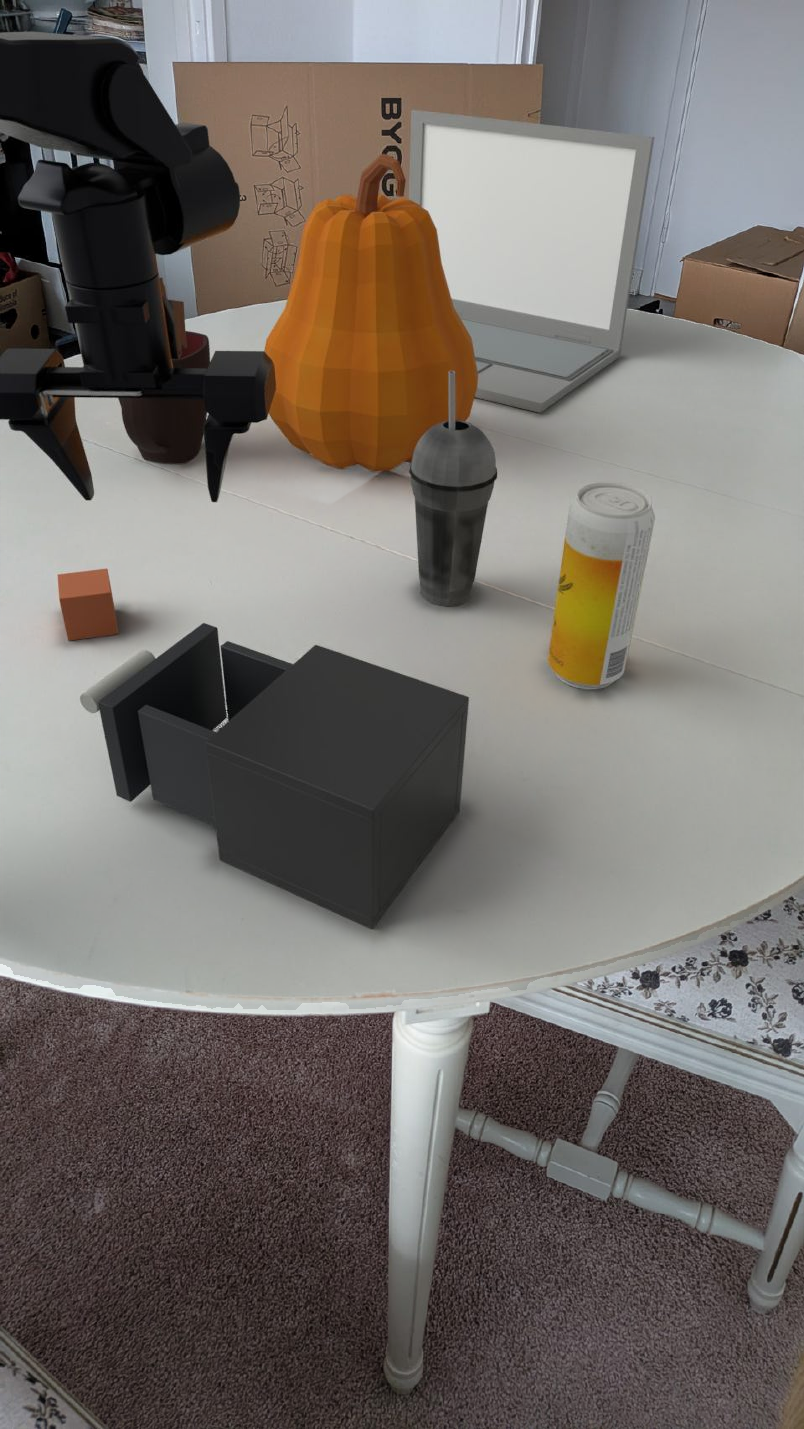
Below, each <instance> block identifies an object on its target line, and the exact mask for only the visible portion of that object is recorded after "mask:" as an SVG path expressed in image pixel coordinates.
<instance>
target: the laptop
mask: <svg viewBox="0 0 804 1429" xmlns="http://www.w3.org/2000/svg"><path fill="white" fill-rule="evenodd" d="M410 112H411V113H410V147H409V180H408V182H409V183H408V199H410V200H411V201H413V202H415V203H417V204H419V205H420V207H422V208H424V209H425V210H427V211H428V212H429V214H430V216H431V218H432V221H433V223H434V225H435V227H436V229H437V235H438V242H439V248H440V255H441V262H442V267H443V270H444V274H445V277H446V281H447V284H448V288H449V292H450V295H451V299H452V302H453V306H454V309H455V310H456V312H457V314H458V315H459V317H460V319H461V321H462V322H463V324H464V326H465V328H466V329H467V331H468V333H469V334H470V336H471V338H472V343H473V349H474V355H475V360H476V366H477V372H478V386H477V390H476V394H475V397H474V398H477V399H479V400H480V399H481V400H485V401H489V402H493V403H498V404H501V405H504V406H505V405H506V406H509V407H513V408H518V409H522V410H527V411H530V412H535V413H538V414H541V413H543V412H544V411H545V410H547V409H548V408H549V407H551V406H552V405H554V404H555V403H557V402H558V401H559V400H561V399H562V398H563V397H565V396H566V395H568V394H569V393H570V392H572V391H573V390H575V389H577V388H578V387H579V386H580V385H582V384H584V383H585V382H586V381H587V380H589V379H590V378H592V377H593V376H595V375H596V374H597V373H599V372H600V371H602V370H603V369H604V368H606V367H608V366H609V365H611V364H612V363H613V362H614V361H616V360H617V359H619V358H620V356H621V353H622V344H623V338H624V331H625V325H626V319H627V313H628V312H627V311H628V306H629V300H630V294H631V288H632V281H633V277H634V276H633V275H634V270H635V269H634V268H635V264H636V263H635V262H636V257H637V250H638V244H639V236H640V231H641V224H642V218H643V212H644V205H645V199H646V193H647V188H648V182H649V175H650V168H651V162H652V154H653V149H654V144H655V143H654V142H655V136H649V135H641V134H640V135H638V134H631V133H622V132H614V131H613V132H612V131H604V130H596V129H587V128H578V127H569V126H561V125H551V124H544V123H543V124H542V123H534V122H525V121H517V120H516V121H515V120H508V119H498V118H491V117H481V116H474V115H473V116H472V115H464V114H455V113H448V112H447V113H445V112H437V111H429V110H419V109H412V110H411V111H410Z"/></svg>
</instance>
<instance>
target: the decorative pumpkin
mask: <svg viewBox="0 0 804 1429" xmlns="http://www.w3.org/2000/svg"><path fill="white" fill-rule="evenodd" d="M389 170H390V171H392V174H393V176H394V179H395V182H396V197H397V199H394V200H392V201H391V199H389V198H388V197H387V196H386V195H384V194H380V193H379V192H380V183H381V181H382V180H383V178H384V177H385V175H386V174H387V172H388V171H389ZM406 181H407V180H406V177H405V174H404V171H403V168H402V166H401V163H400V161H399V160H397V159H396V158H394V157H393V156H390V155H389V154H385V153H382V154H380V155H379V156H378V157H376V159H374V160H373V162H371V163H370V164H369V165H368V166H367V167H366V168H365V169H364V170H363V171H361V175H360V180H359V185H358V191H357V195H356V197H355V196H354V195H352V194H343V195H342V194H341V195H340V196H338V197H336V198H335V199H330V198H327V199H325V200H323V201H321V202H319V203H316V205H315V206H314V209H312V211H311V212H310V214H309V216H308V218H307V221H306V223H305V225H304V226H303V229H302V234H301V239H300V240H301V241H300V248H299V254H298V261H297V264H296V269H295V272H294V275H293V279H292V281H291V286H290V289H289V293H288V297H287V300H286V303H285V307H284V309H283V311H282V312H281V314H280V315H279V317H278V318H277V321H276V322H275V324H274V326H273V328H272V329H271V331H270V332H269V334H268V335H267V337H266V340H265V345H264V350H263V351H264V352H265V353H266V354H267V355H268V356H269V357H270V358H271V360H272V361H273V363H274V367H275V379H276V391H275V394H274V397H273V401H272V404H271V407H270V410H269V413H268V415H269V416H270V419H271V421H273V423H274V424H275V425H276V426H277V428H278V429H279V431H280V432H281V433H282V434H283V436H284V437H285V439H287V441H288V442H289V444H290V445H292V446H293V447H295V448H296V449H298V450H300V451H302V452H304V453H305V454H308V455H311V456H312V457H313V458H314V459H315V460H317V461H319V462H320V463H322V464H324V465H326V466H329V467H331V468H335V469H339V470H342V469H346V468H349V467H354V466H357V465H358V466H360V467H363V468H364V469H367V470H369V471H371V472H373V473H380V472H391V471H392V470H394V469H396V468H397V467H398V466H401V464H403V463H404V462H406V463H411V462H412V458H413V454H414V450H415V447H416V445H417V443H418V441H419V440H420V438H421V437H422V436H423V435H424V434H425V433H426V432H427V431H428V430H429V429H430V428H431V427H433V426H434V425H436V424H439V423H441V422H444V421H449V371H454V372H455V420H461V421H465V422H467V420H468V419H469V417H471V412H472V409H473V405H474V401H475V398H476V397H475V394H476V390H477V386H478V372H477V366H476V360H475V355H474V349H473V343H472V338H471V336H470V334H469V333H468V331H467V329H466V328H465V326H464V324H463V322H462V321H461V319H460V317H459V315H458V314H457V312H456V310H455V309H454V306H453V302H452V299H451V295H450V292H449V288H448V284H447V281H446V277H445V274H444V270H443V267H442V262H441V255H440V248H439V242H438V235H437V229H436V227H435V225H434V223H433V221H432V218H431V216H430V214H429V212H428V211H427V210H425V209H424V208H422V207H420V205H419V204H417V203H415V202H413V201H411V200H410V199H409V198H406V197H405V190H406V189H405V188H406ZM398 197H399V198H398Z"/></svg>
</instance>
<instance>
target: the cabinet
mask: <svg viewBox="0 0 804 1429" xmlns="http://www.w3.org/2000/svg"><path fill="white" fill-rule="evenodd" d="M292 664H293V665H292V666H291V667H290V668H288V669H287V670H286V671H285V672H284V673H283V674H282V675H281V676H279V677H278V678H277V679H276V680H275V681H274V682H273V683H271V684H270V685H269V686H268V687H267V688H266V689H265V690H264V691H262V692H261V693H260V694H259V695H258V696H257V697H256V698H254V699H253V700H252V701H251V702H250V703H249V704H248V705H247V706H245V707H244V708H243V709H242V710H241V711H240V712H239V713H238V714H236V715H235V716H234V717H233V718H232V719H231V720H230V721H228V720H227V722H226V723H225V724H224V725H222V727H220V729H218V730H217V731H215V732H216V733H215V734H214V735H213V736H211V737H210V738H209V739H208V740H207V741H206V742H205V746H206V752H207V762H208V770H209V778H210V786H211V794H212V802H213V810H214V818H215V826H216V827H215V826H214V827H215V833H216V834H215V835H216V841H217V850H218V858H219V860H220V861H221V862H224V863H225V864H227V865H229V866H232V867H234V868H237V869H239V870H241V871H243V872H246V873H248V874H249V875H252V876H254V877H257V878H259V879H261V880H263V881H265V882H268V883H270V884H272V885H274V886H276V887H279V888H280V889H283V890H285V891H287V892H288V893H289V892H290V893H292V894H294V895H296V896H298V897H300V898H303V899H305V900H306V901H309V902H311V903H314V904H316V905H318V906H320V907H322V908H324V909H327V910H329V911H331V912H333V913H336V914H338V915H340V916H342V917H345V918H346V919H348V920H351V921H353V922H355V923H356V924H357V923H358V924H360V925H361V926H364V927H366V928H368V929H370V930H373V929H374V927H375V926H376V925H377V924H378V922H379V921H380V920H381V918H382V917H383V916H384V915H385V913H386V911H387V910H388V909H389V908H390V906H391V905H392V904H393V902H394V901H395V900H396V898H397V896H398V895H399V894H400V892H401V891H402V890H403V889H404V887H405V886H406V884H407V883H408V882H409V880H410V879H411V878H412V877H413V875H414V874H415V872H416V871H417V869H418V868H419V867H420V865H421V864H422V863H423V862H424V860H425V859H426V858H427V856H428V855H429V853H430V852H431V851H432V849H433V848H434V847H435V845H436V844H437V843H438V841H439V840H440V839H441V837H442V836H443V835H444V833H445V832H446V831H447V829H448V828H449V826H450V825H451V824H452V822H453V821H454V820H455V819H456V817H457V816H458V814H459V813H460V811H461V809H460V808H461V801H462V800H461V798H462V787H463V775H464V765H465V764H464V763H465V752H466V751H465V750H466V739H467V729H468V727H467V726H468V717H469V716H468V715H469V703H470V697H469V696H468V695H464V694H462V693H459V692H456V691H452V690H450V689H447V688H444V687H441V686H438V685H435V684H432V683H429V682H427V681H424V680H420V679H417V678H414V677H411V676H409V675H406V674H403V673H400V672H397V671H394V670H391V669H389V668H386V667H382V666H380V665H377V664H374V663H372V662H368V661H366V660H362V659H359V658H357V657H353V656H350V655H348V654H345V653H341V652H340V651H339V652H338V651H335V650H333V649H330V648H328V647H324V646H322V645H319V644H314V645H313V646H312V647H311V648H310V649H309V650H308V651H306V652H305V653H304V654H303V655H302V656H301V657H300V658H298V659H297V660H296V661H295V662H294V663H292Z"/></svg>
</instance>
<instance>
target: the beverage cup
mask: <svg viewBox="0 0 804 1429" xmlns="http://www.w3.org/2000/svg"><path fill="white" fill-rule="evenodd" d="M494 450H495V449H494V446H493V445H492V442H491V441H490V439H489V438H488V436H487V435H486V434H485V432H484V431H482V430H481V429H480V428H479V427H477V426H476V425H474V424H473V423H470V422H469V421H461V420H455V372H454V371H449V421H444V422H441V423H439V424H436V425H434V426H433V427H431V428H430V429H429V430H428V431H427V432H426V433H425V434H424V435H423V436H422V437H421V438H420V440H419V441H418V443H417V445H416V447H415V450H414V454H413V458H412V462H410V466H409V470H408V473H409V475H410V483H411V484H410V485H411V489H412V495H413V497H414V509H415V529H416V549H417V565H418V566H417V567H418V579H419V583H420V584H419V586H420V595H421V597H422V598H423V599H424V600H425V601H426V602H428V603H430V604H431V605H432V604H433V605H437V606H441V607H454V606H458V605H462V604H464V603H466V602H468V601H469V600H470V598H471V596H472V590H473V586H474V582H475V579H476V574H477V568H478V563H479V556H480V550H481V544H482V541H483V540H482V539H483V534H484V528H485V523H486V518H487V517H486V516H487V512H488V506H489V501H490V500H491V498H492V495H493V491H494V489H495V488H494V487H495V482H496V480H497V479H498V469H497V459H496V453H495V451H494Z"/></svg>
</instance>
